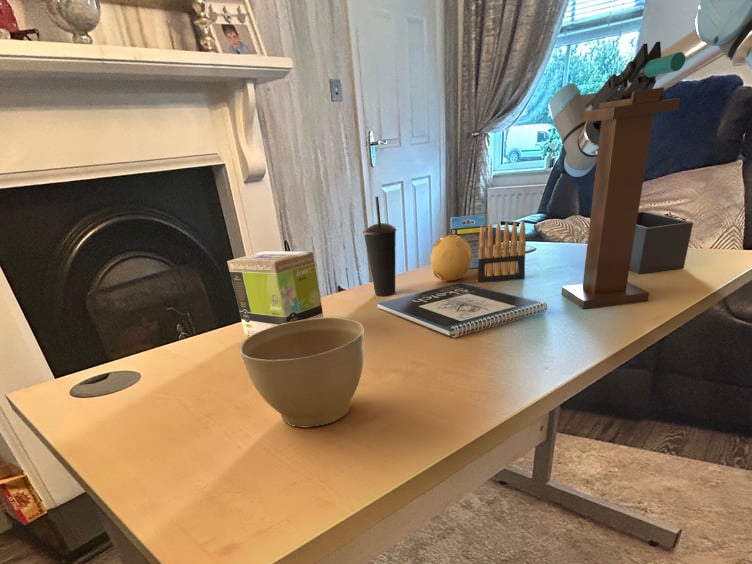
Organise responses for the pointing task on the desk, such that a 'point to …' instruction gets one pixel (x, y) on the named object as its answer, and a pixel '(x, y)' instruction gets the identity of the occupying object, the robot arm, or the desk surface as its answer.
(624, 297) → the headphone stand
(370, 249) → the drinking cup
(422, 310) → the sketchbook
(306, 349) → the planter bowl
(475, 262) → the label tape box
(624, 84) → the robot arm
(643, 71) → the marker
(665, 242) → the pen holder
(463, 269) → the stress ball
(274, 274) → the tea box
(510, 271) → the ammunition clip
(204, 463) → the desk surface
